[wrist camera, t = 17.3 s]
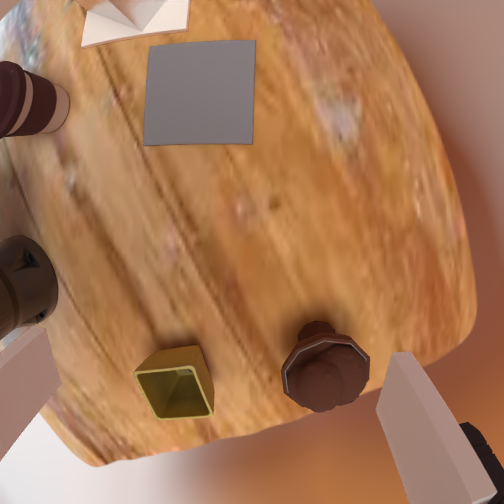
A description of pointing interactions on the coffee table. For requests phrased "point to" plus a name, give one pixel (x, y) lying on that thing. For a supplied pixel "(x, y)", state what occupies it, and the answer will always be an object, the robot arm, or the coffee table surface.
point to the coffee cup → (29, 102)
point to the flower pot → (177, 384)
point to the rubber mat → (200, 93)
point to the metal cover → (125, 10)
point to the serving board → (107, 30)
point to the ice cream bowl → (324, 369)
